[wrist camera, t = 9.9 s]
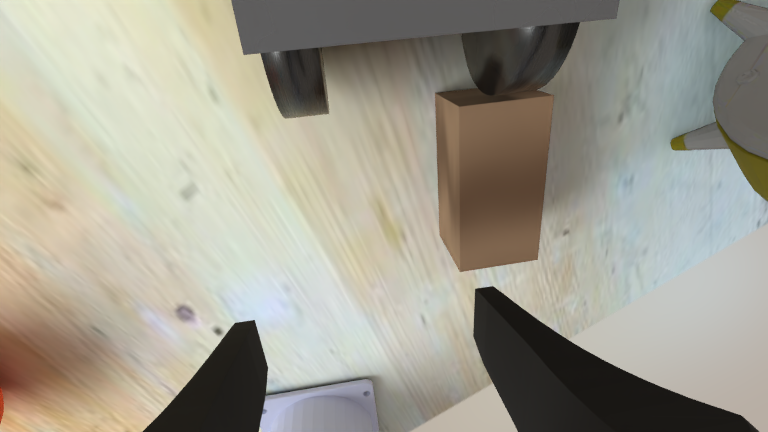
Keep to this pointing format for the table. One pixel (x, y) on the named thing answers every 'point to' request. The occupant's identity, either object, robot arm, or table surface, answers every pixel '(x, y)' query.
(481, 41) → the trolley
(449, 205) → the block
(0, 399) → the clementine
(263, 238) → the table surface
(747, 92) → the alarm clock
